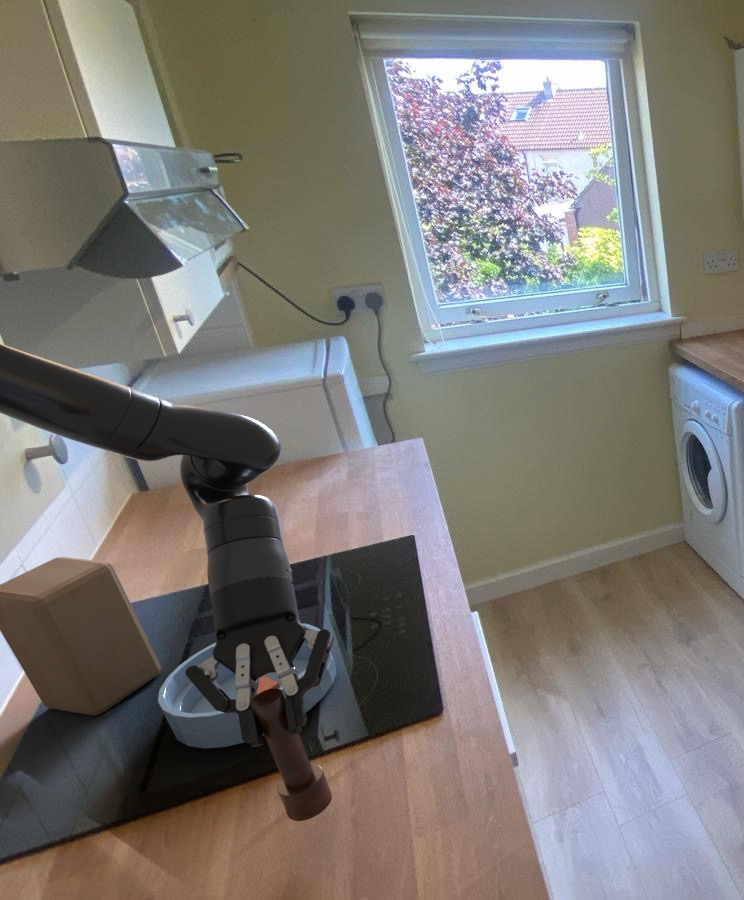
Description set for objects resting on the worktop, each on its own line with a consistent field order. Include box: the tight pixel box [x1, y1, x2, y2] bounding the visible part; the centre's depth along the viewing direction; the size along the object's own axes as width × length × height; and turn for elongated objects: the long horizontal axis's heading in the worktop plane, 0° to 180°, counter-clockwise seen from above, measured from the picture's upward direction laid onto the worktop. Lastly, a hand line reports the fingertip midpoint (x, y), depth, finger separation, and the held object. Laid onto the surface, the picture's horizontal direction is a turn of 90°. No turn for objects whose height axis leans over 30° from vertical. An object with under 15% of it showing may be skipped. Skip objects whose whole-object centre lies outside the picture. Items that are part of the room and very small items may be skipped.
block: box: [257, 676, 280, 694], centre depth 102 cm, size 4×4×4 cm
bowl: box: [157, 622, 338, 749], centre depth 104 cm, size 19×19×6 cm
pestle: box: [251, 688, 333, 822], centre depth 81 cm, size 4×4×16 cm
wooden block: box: [0, 556, 163, 717], centre depth 103 cm, size 10×10×20 cm
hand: (277, 738), depth 78 cm, fingers closed on pestle, 3 cm apart
